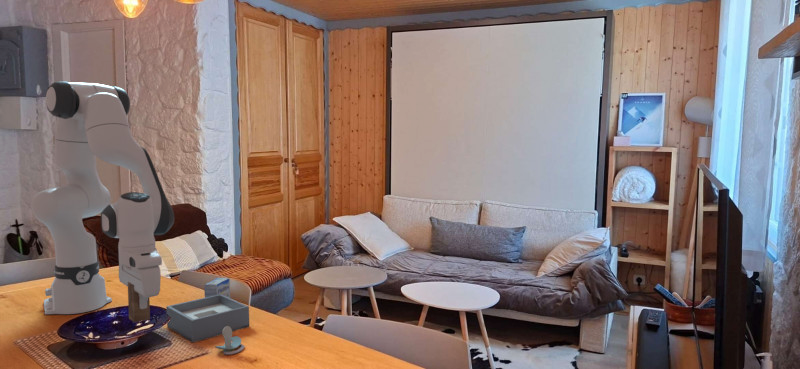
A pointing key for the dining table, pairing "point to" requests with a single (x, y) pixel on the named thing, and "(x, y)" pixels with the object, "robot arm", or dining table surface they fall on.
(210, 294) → the medicine box
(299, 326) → the dining table surface
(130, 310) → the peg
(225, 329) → the pacifier
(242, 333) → the dining table surface
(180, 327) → the bin
